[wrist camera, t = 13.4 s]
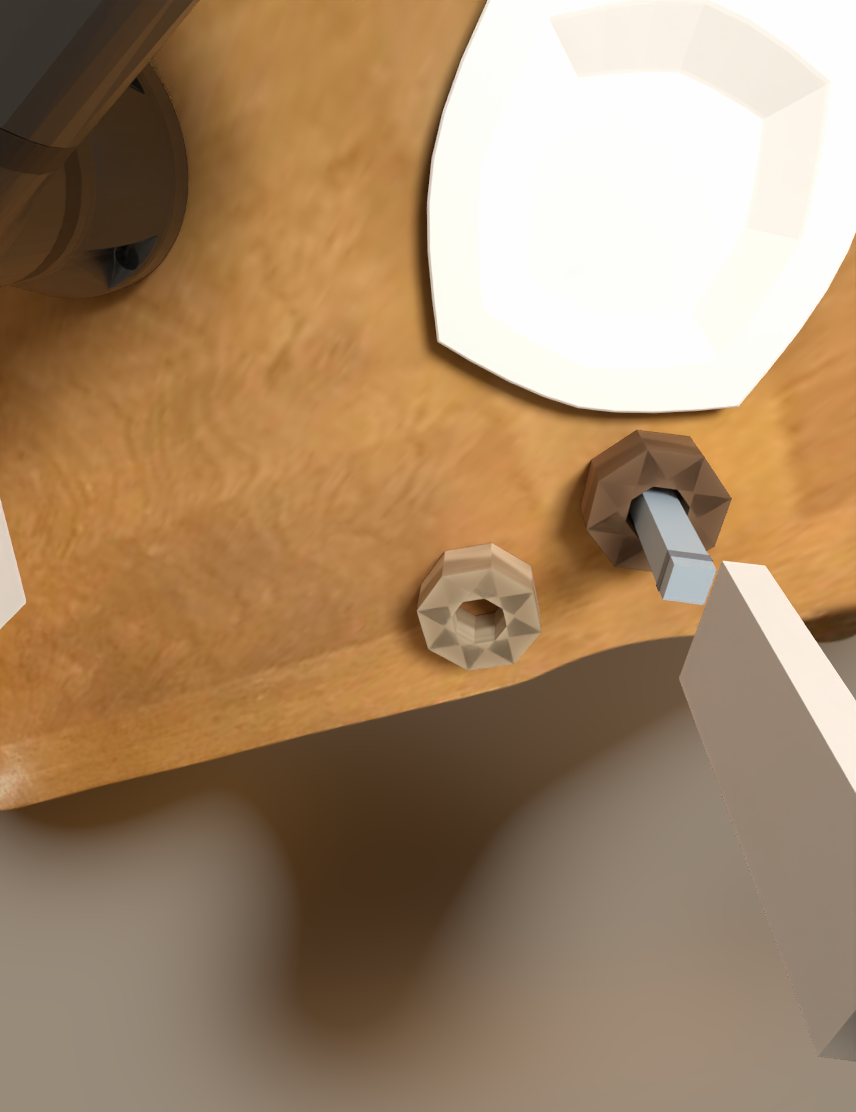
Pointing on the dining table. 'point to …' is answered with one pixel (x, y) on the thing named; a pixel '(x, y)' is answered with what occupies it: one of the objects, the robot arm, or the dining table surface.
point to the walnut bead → (636, 471)
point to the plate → (642, 194)
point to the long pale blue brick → (672, 546)
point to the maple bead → (481, 635)
